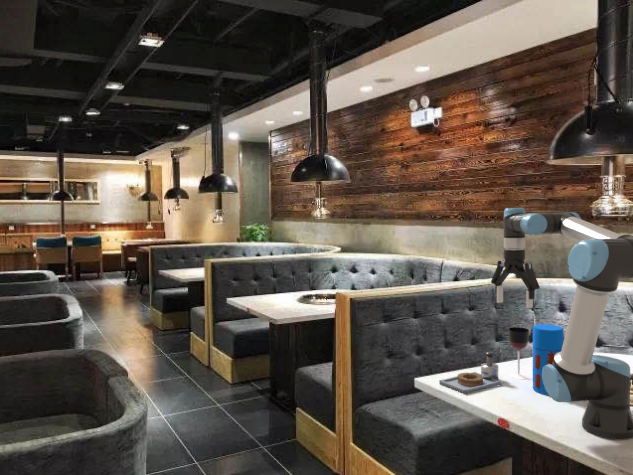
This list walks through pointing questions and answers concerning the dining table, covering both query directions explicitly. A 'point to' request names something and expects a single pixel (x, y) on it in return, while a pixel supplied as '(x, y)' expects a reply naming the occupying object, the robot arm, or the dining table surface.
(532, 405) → the dining table surface
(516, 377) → the wineglass
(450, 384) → the tray
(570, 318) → the robot arm
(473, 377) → the ring
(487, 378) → the metal peg stand
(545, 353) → the thermos
